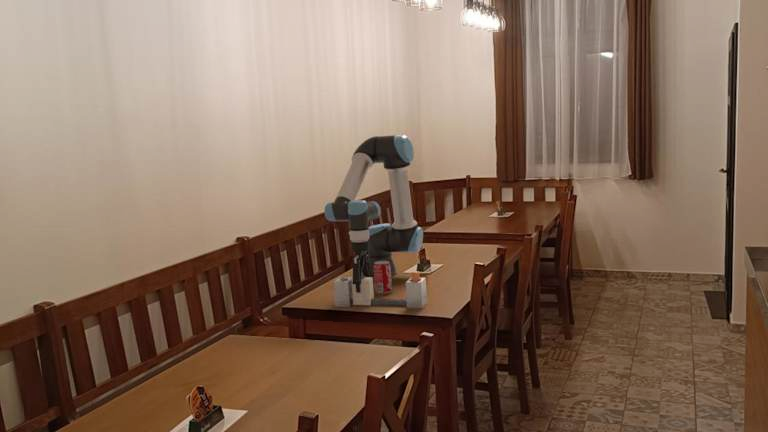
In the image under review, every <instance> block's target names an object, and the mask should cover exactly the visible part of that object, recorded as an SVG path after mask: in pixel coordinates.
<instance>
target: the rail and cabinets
mask: <svg viewBox="0 0 768 432" xmlns="http://www.w3.org/2000/svg"><path fill="white" fill-rule="evenodd" d="M352 280H353V276H340V277H337V279H335V280H334V281H332V283H333V293H334V295H333V297H334V307H335V308H337V307H339V308H340V307H341V308H342V307H343V308H350V307H351V306H354V305H353V293H352ZM405 295H406V296H405V297H406V298H405V299H403V298H374V299H371V305H370V306H381V307H382V306H384V307H385V306H386V307H388V306H389V307H391V306H392V307H406V309H424V308H425V306H426V305H425V304H427V303H428V298H427V295H428V294H427V277H420V281H412V276H411V277H410V278H408V280H407V281H405Z"/></svg>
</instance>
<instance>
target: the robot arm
mask: <svg viewBox="0 0 768 432" xmlns="http://www.w3.org/2000/svg"><path fill="white" fill-rule="evenodd" d="M414 153H415V152H414V146H413V143H412V141H411V139H410V138H409V137H408V136H407V135H398V134H397V135H393V134H392V135H383V136H381V135H380V136H376V135H374V136H372V137H369V138H367V139H366V140H364V141H363V142H362V143H360V144H359V146H358V147H357V148H356V149H355V151H354V153H353V154H352V156H351V164H350V166H349V168H348V171H347V172H346V175H345V178H344V179H343V182H342V184H341V185H340V186H341V187H340V188H339V191H338V193H337V195H336V197H335V199H334V201H332V202H327V203H326V204H325V206H324V210H323V211H324V217H325V219H326V220H327V221H330V222H348V226H349V227H348V228H349V232H348V235H349V240H350V242H349V245H350V246H349V247H350V251H351V252H354V257H352V258H351V259H352V260H351V261H352V277H353V282H352V284H355V292H356V301H363V288H362V284H361V279H362V276H365V277H373V279H374V262H377V261H389V264H390V266H391V277H392V276H396V275H397V273H398V272H397V271H398V270H397V267H396V264H395V261H394V259H393V253H401V254H403V253H405V254H411V253H418V252H419V251H420V249H421V248H422V246H423V241H424V240H423V239H424V231H423V228H422V227H420V226H418V222H417V221H416V220H415V219H414V214H413V206H412V205H413V203H412V197H411V189H410V180H409V173H408V168H409V167H410V165H411V162H413V160H414ZM374 164H383V168H384V170H386V171H387V174H388V181H389V182H388V183H389V191H390V197H391V206H392V213H393V223H392V224H390V223H379V224H374V225H371V226H369V223H370V222H372V221H376V220H377V219H378V218H379V217H380V216H381V212H382V209H381V206H380V204H379V203H378V202H376V201H366V200H364V199H357V196H358V194H359V191H360V190H361V186H362V185H363V183H364V180H365V179H366V175H367V174H368V171H369V170H370V169H372V167H373V166H374Z"/></svg>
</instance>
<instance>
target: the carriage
mask: <svg viewBox="0 0 768 432" xmlns="http://www.w3.org/2000/svg"><path fill="white" fill-rule="evenodd" d="M352 282H353V280H352ZM361 284H362V288H363V301H356V292H355V284H352V293H353V305H352V306H372V305H371V299H375V297H374V296H375V294H374V292H375V291H374V278H373V277H365V276H363V275H362V279H361Z"/></svg>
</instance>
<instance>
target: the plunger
mask: <svg viewBox="0 0 768 432" xmlns="http://www.w3.org/2000/svg"><path fill="white" fill-rule="evenodd" d="M411 277H412V281H420V278H421V277H420V271H417V270H416V271H412V272H411Z"/></svg>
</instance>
